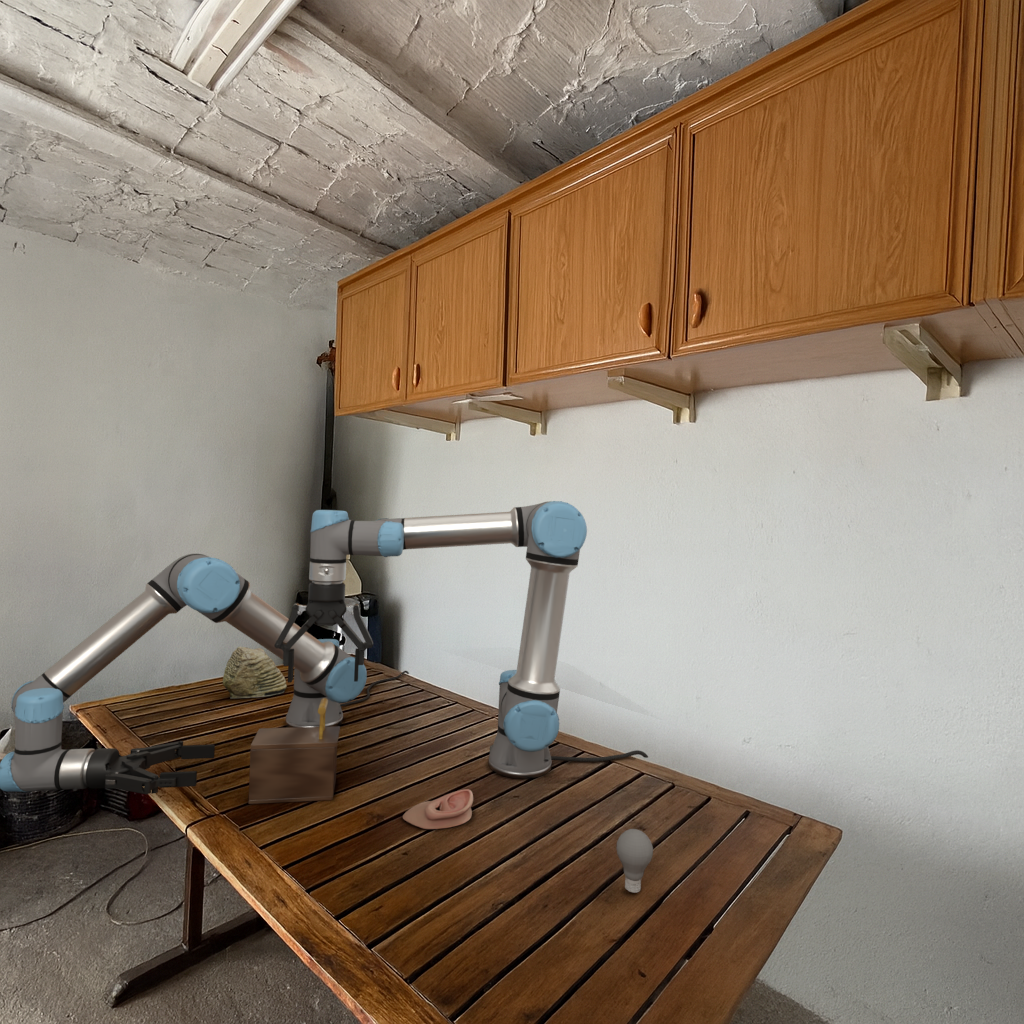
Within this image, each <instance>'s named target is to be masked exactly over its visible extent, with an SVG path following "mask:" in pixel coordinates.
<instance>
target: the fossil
mask: <svg viewBox="0 0 1024 1024" xmlns="http://www.w3.org/2000/svg"><path fill="white" fill-rule="evenodd" d="M222 676H223V677H222V685H223V687H224V688H225V690H226V691H228V693H229V698H230V699H250V698H264V697H271V696H275V695H281V694H284V693H285V691H286V689H287V687H288V686H287V680H286V678H285V676H284V674H283V673H282V672H281V669H279V668H278V667H277V665H276V663H275V662H274V660H273V659H272V658H271V657H270V656H269V655H268V654H267V653H266V652H265V650H264V649H263V648H260V647H258V648H251V647H247V646H246V647H245V646H238V647H237V648H236V649H235V650H233V651H232V653H231V656H230V657H229V659H228V660H227V663H226V666H225V668H224V671H223V675H222Z"/></svg>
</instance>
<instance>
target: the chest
mask: <svg viewBox="0 0 1024 1024" xmlns="http://www.w3.org/2000/svg"><path fill="white" fill-rule="evenodd" d="M249 754H250V755H249V774H248V775H249V778H248V779H249V780H248V805H255V804H256V805H257V804H277V803H278V804H279V803H298V802H299V803H300V802H316V801H317V802H318V801H333V800H334V794H335V789H336V781H337V764H338V763H337V761H338V746H337V747H314V748H284V749H254V750H251V749H250V752H249Z"/></svg>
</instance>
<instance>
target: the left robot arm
mask: <svg viewBox="0 0 1024 1024" xmlns="http://www.w3.org/2000/svg"><path fill="white" fill-rule="evenodd" d="M186 606H187V607H189V608H191V610H194V611H196V612H197V613H200V614H201V615H203V617H206V618H207V619H209V620H210V621H211V622H213V623H214V624H219V623H224V622H225V623H227V624H228V625H230V626H232V627H233V628H235V629H236V630H238V631H239V632H240V633H242V634H244V635H245V636H246V637H248V638H249V639H251V640H253V642H256V643H257V644H258V645H260V646H262V647H263V648H265V649H266V650H267V651H269V652H270V653H271V654H273V655H275V656H276V657H278V658H279V659H280V660H282V661H283V650H282V649H279V648H275V646H274V645H275V643H276V641H277V639H278V638H279V636H280V634H281V632H282V631H283V629H284V627H285V625H286V623H287V622H288V620H289V618H288V617H287V616H286V615H284V614H283V613H281V612H280V611H279V610H277V608H276V609H275V608H274V607H273V606H271V605H270V603H268V602H266V601H265V600H264V599H262V598H260V597H259V596H257V594H255V593H253V592H252V591H251V582H250V581H248V580H247V579H246V578H244V577H243V576H241V575H240V574H239V573H237V572H236V569H234V568H233V567H232V565H231V564H230V563H228V562H226V561H224V560H222V559H220V558H216V557H212V556H209V555H207V554H203V553H187V554H185V555H183V556H180V557H178V558H177V559H175V560H173V561H172V562H171V563H170V564H168V565H167V566H166V567H165V568H164V569H163V570H161V571H160V572H159V573H158V574H157V575H156V576H154V577H153V578H152V579H151V580H149V581H148V582H147V583H146V584H145V589H144V591H142V593H140V594H139V595H138V596H137V597H135V598H134V599H133V600H132V601H130V602H129V603H128V604H127V605H126V606H124V607H123V608H122V609H120V610H119V611H118V612H117V613H115V614H114V616H112V617H111V618H109V619H108V620H107V621H106V622H105V623H104V624H102V625H101V626H99V627H98V628H96V630H94V631H93V632H92V633H91V634H89V635H88V637H86V638H85V639H84V640H83V641H81V642H80V643H78V645H76V646H75V647H74V648H73V649H71V650H70V651H69V652H67V653H66V654H65V655H64V656H63V657H61V658H60V659H59V660H58V661H57V662H55V663H54V664H53V665H51V666H50V667H49V668H48V669H46V670H45V671H44V672H43V673H41V675H39V676H38V677H36V679H33V680H30V681H26V682H25V683H23V684H21V685H20V686H19V687H18V688H17V689H16V690H15V692H14V693H13V694H12V695H13V696H12V698H11V703H10V704H11V706H10V707H11V710H12V712H13V720H14V726H15V727H14V751H10V752H8V753H6V754H5V756H3V757H2V759H1V761H0V790H1V791H4V792H13V793H15V792H17V793H18V792H21V793H31V792H44V791H45V792H47V791H63V790H65V791H66V790H72V791H73V792H77V791H79V790H85V789H88V788H89V789H90V790H93V789H94V790H95V789H114V790H115V789H117V790H121V791H126V792H131V793H136V794H142V795H150V794H152V795H155V794H157V793H159V789H163V788H165V789H166V788H168V789H169V788H186V787H196V786H197V783H198V782H197V781H198V780H197V779H198V775H197V774H198V771H197V770H191V771H190V770H189V771H166V772H165V771H163V772H160V773H159V774H156V773H154V772H151V771H150V770H149V771H148V769H150V768H151V766H154V765H158V764H161V763H166V762H169V761H172V760H176V759H179V758H180V759H181V760H197V759H198V760H200V759H201V760H202V759H214V758H215V748H216V747H215V746H216V745H215V744H187V745H185V744H184V741H183V740H179V741H174V742H169V743H161V744H157V745H151V746H147V747H146V746H145V747H135V748H131V749H130V752H129V754H127V755H121V754H120V751H119V750H118V749H117V748H115V747H107V748H96V749H95V748H71V749H62V745H63V744H62V743H63V739H62V736H63V734H62V733H63V714H64V709H65V705H64V703H65V702H66V701H67V700H68V699H70V698H71V697H72V696H73V695H74V694H75V693H76V692H78V691H79V690H80V689H81V688H82V687H83V686H85V685H86V684H87V683H89V682H90V681H91V680H93V678H95V677H96V676H97V675H98V674H99V673H100V672H102V671H103V669H105V668H106V667H108V666H109V665H110V664H111V663H112V662H113V661H114V660H115V661H116V659H117V658H118V657H120V655H122V654H123V653H124V652H126V651H127V650H128V649H129V648H130V647H131V646H132V645H134V644H135V643H136V642H137V641H139V640H140V639H141V638H142V637H144V636H145V635H146V634H147V633H148V632H149V631H150V630H152V629H153V628H154V627H155V626H156V625H157V624H159V623H160V622H161V621H162V620H164V619H165V618H166V617H167V616H169V615H170V614H173V615H174V614H177V613H179V612H180V611H182V610H183V608H185V607H186ZM301 627H302V626H301ZM301 627H300V626H299V625H298V624H297V623H295V622H294V623H293V625H292V627H291V629H290V631H289V632H288V634H287V636H286V638H285V639H284V641H283V642H285V643H287V642H288V641H289V640H290V639H291V638H292V637H293V636H294V635H295V634H296V633H297V631H298V630H299V629H300V628H301ZM290 649H294V670H293V695H292V696H293V697H292V699H291V702H290V704H289V708H288V711H287V713H286V715H285V726H286V728H295V727H320V714H319V713H318V708H319V705H320V702H321V700H322V699H323V698H326V699H327V700H328V705H327V709H326V713H325V727H332V726H340V725H342V723H343V722H344V714H343V709H342V707H346V706H351V705H353V704H358V703H361V702H364V701H366V700H368V699H369V698H370V697H371V693H370V690H371V689H372V687H373V686H374V685H377V684H379V683H384V682H389V681H394V680H397V679H399V678H401V677H402V676H403V675H404V674H407V675H409V674H410V672H409V671H408V670H403V671H402V672H400V673H399V674H398V675H396V676H393V677H388V678H384V679H379V680H377V681H374V682H373V683H371V684H370V685H369V686H368V687H367V689H366V694H367V696H365V697H363V698H360V699H356V698H357V697H359V695H360V694H361V693H362V692H363V690H364V688H365V687H366V684H367V680H368V679H367V678H368V677H367V676H368V675H367V674H368V673H367V668H366V665H365V664H363V665H359V668H358V682H354V671H355V656H352V655H350V654H349V653H347V652H346V651H344V650H343V649H342V648H341V646H340V641H339V640H338V639H335V638H323V639H322V638H319V639H317V638H316V637H315V636H313V635H312V634H311V633H309V632H308V631H306V632H305V633H304V634H303V635H302V636H301V637H300V638H299V640H298V641H297V642H296V643H295V644H294V645H293V646H292V647H291V648H290ZM401 674H402V675H401ZM355 699H356V700H355Z"/></svg>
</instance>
